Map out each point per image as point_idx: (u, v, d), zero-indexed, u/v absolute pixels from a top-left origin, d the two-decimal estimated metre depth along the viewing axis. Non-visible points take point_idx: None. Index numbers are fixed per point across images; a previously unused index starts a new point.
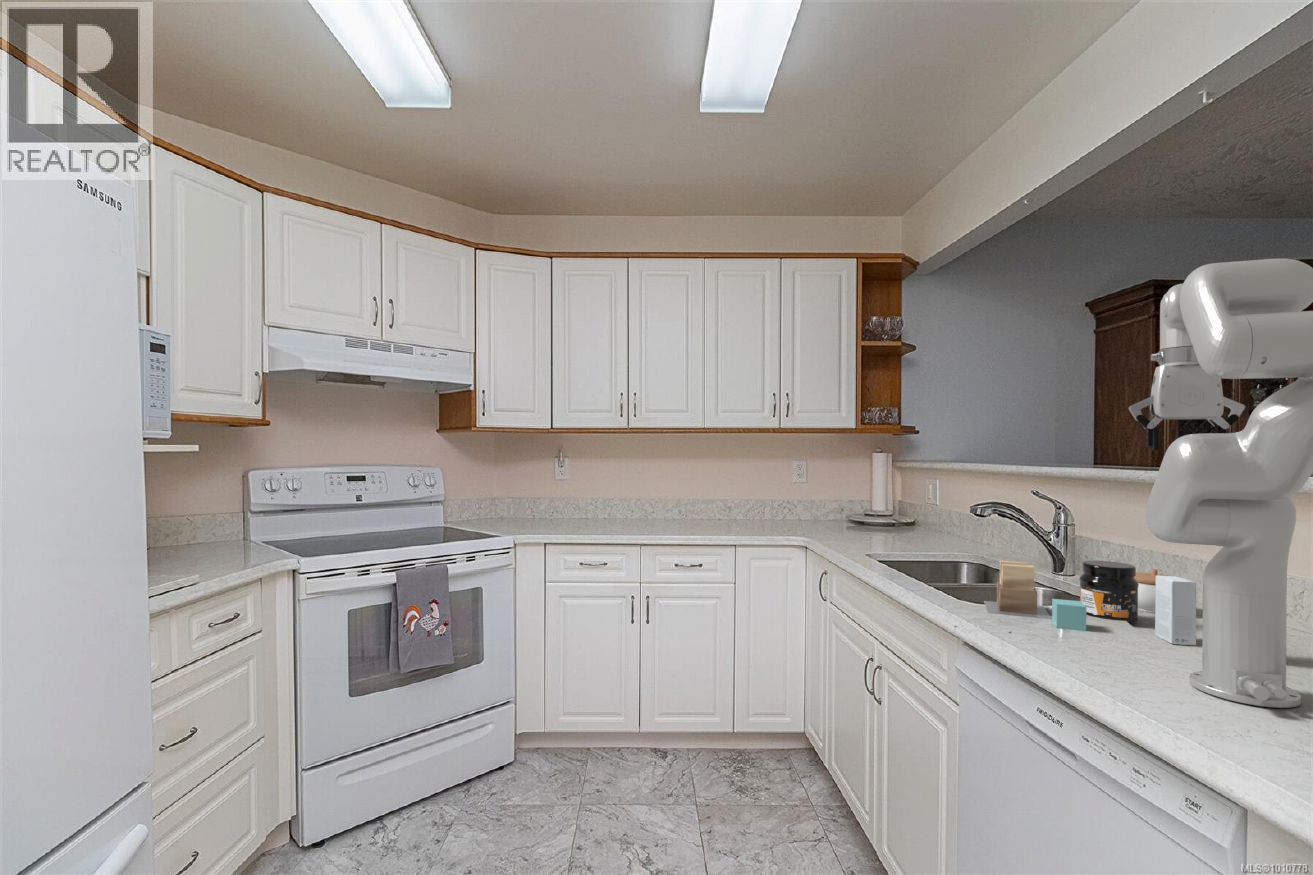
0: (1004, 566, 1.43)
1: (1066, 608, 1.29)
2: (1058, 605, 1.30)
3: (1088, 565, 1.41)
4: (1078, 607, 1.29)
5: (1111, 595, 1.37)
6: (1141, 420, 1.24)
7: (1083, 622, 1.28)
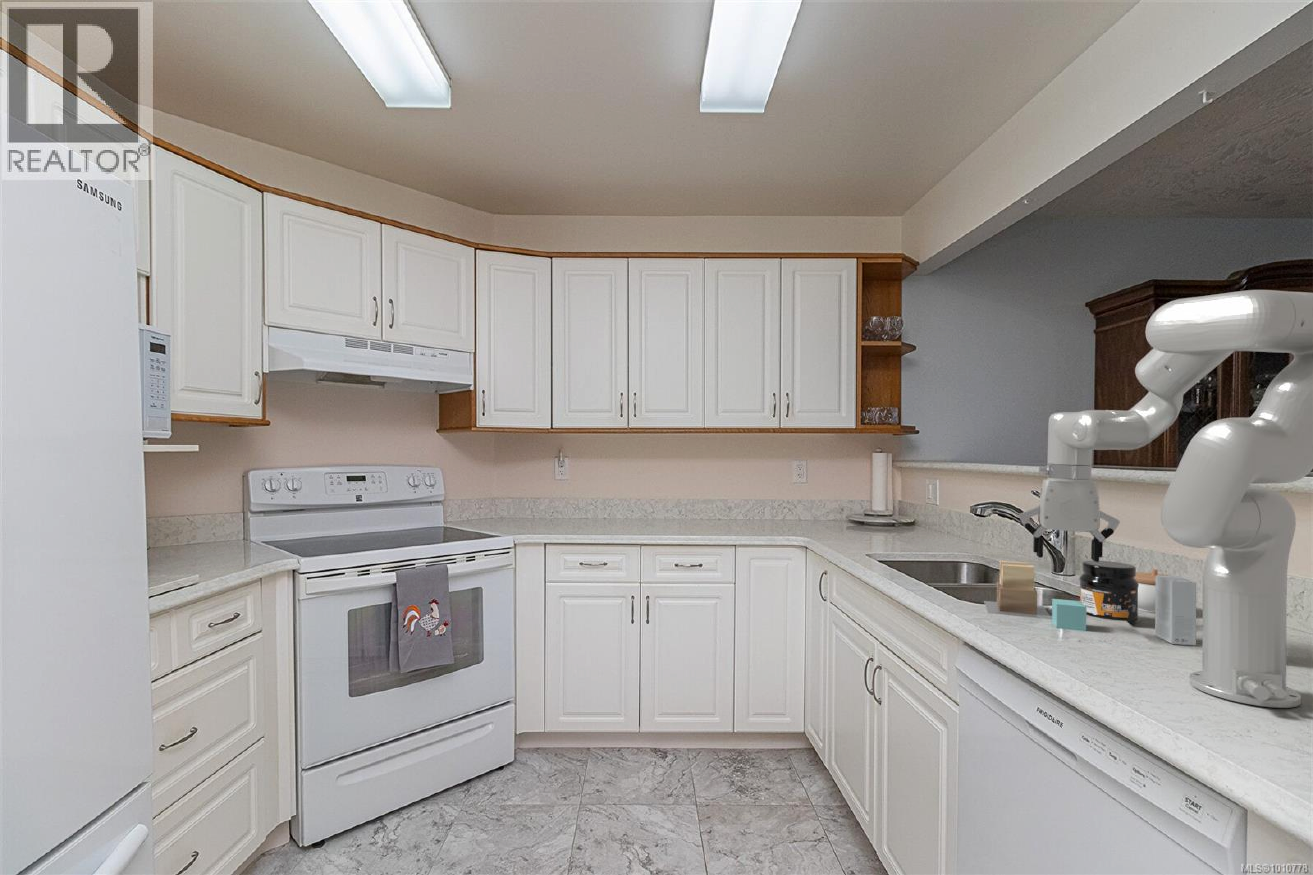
0: (1004, 566, 1.43)
1: (1066, 608, 1.29)
2: (1058, 605, 1.30)
3: (1088, 565, 1.41)
4: (1078, 607, 1.29)
5: (1111, 595, 1.37)
6: (1028, 528, 1.34)
7: (1083, 622, 1.28)
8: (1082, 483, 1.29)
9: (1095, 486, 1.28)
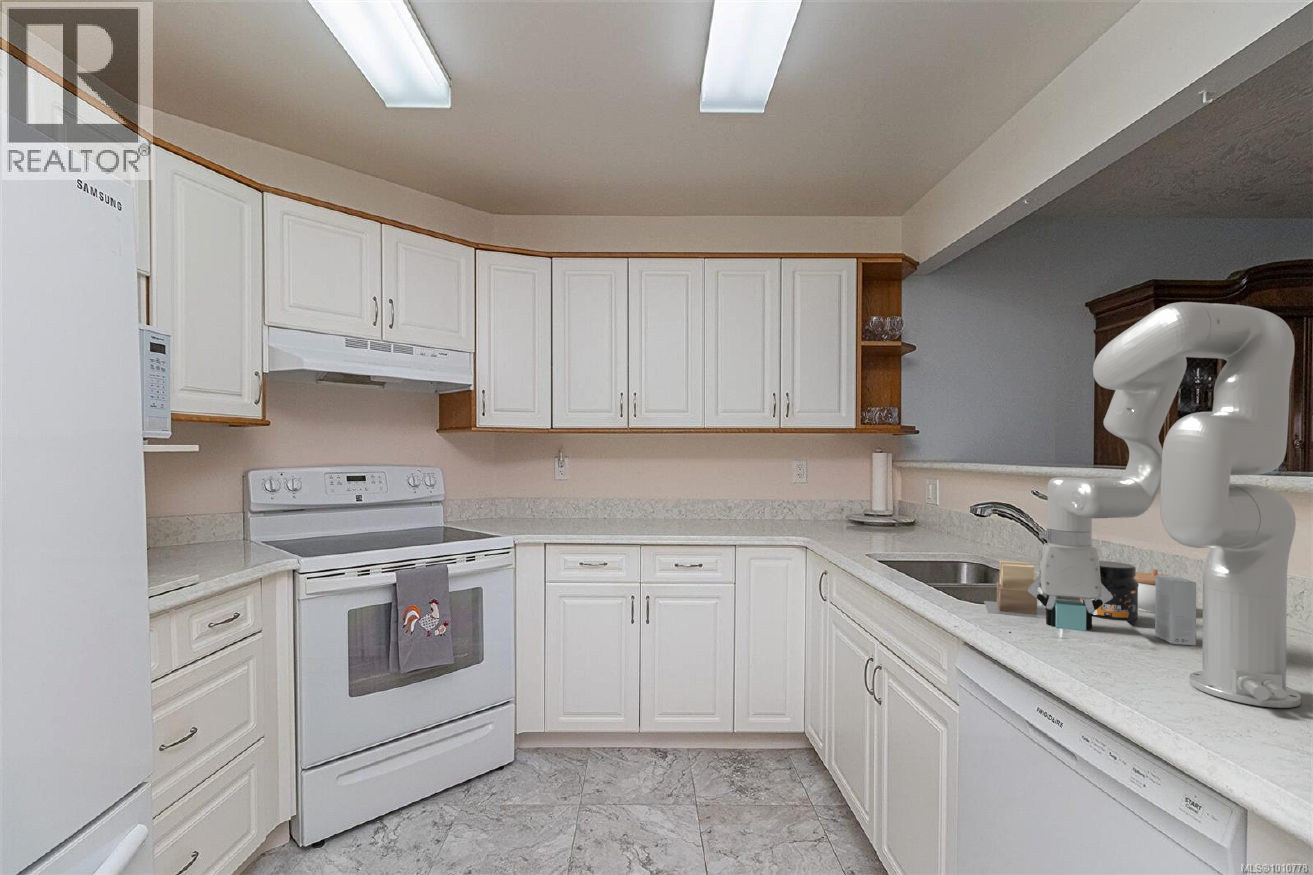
0: (1004, 566, 1.43)
1: (1066, 608, 1.29)
2: (1058, 605, 1.30)
3: None
4: (1078, 607, 1.29)
5: None
6: (1041, 600, 1.33)
7: (1083, 622, 1.28)
8: (1082, 550, 1.28)
9: (1095, 553, 1.28)
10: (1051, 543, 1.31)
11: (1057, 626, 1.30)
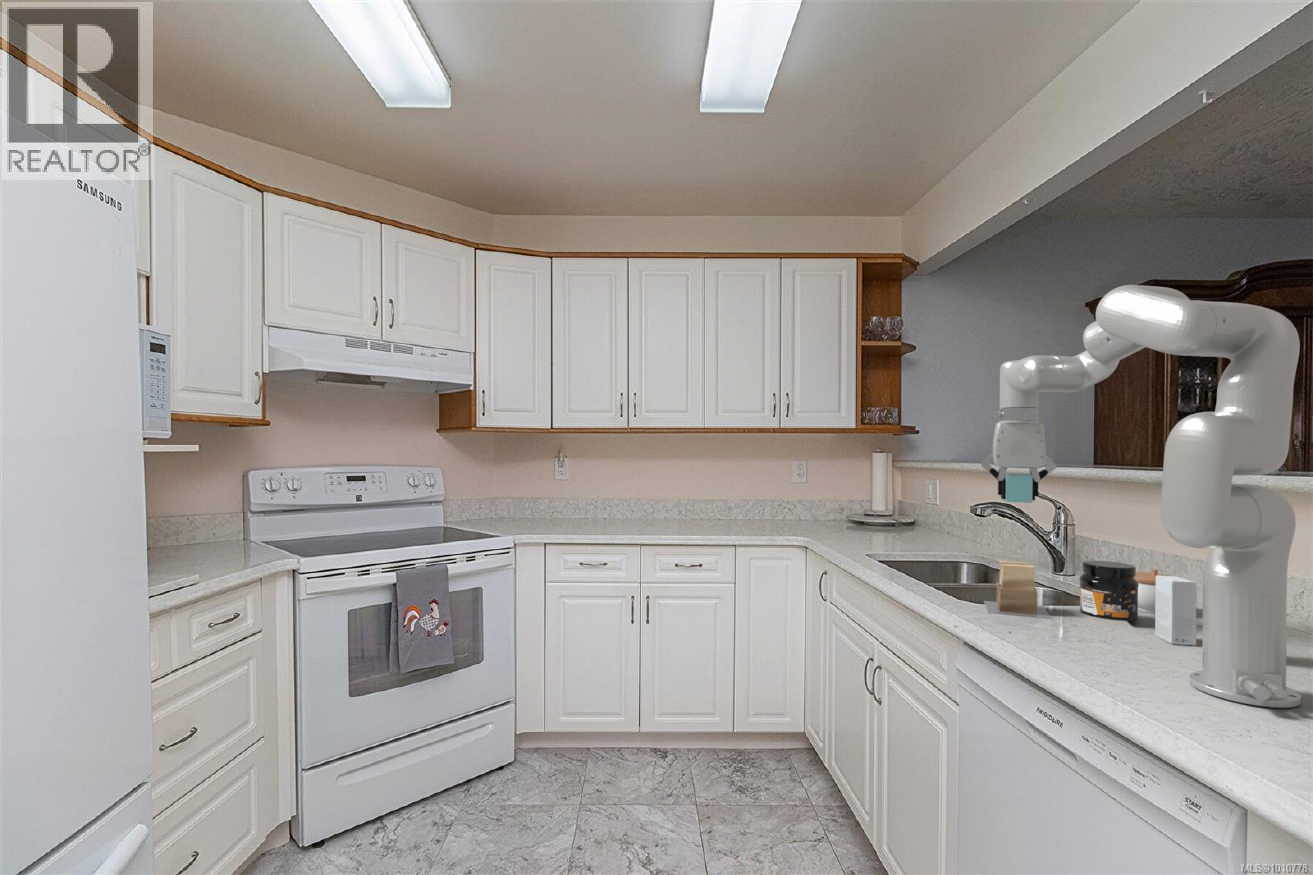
0: (1004, 566, 1.43)
1: (1015, 478, 1.43)
2: (1008, 475, 1.43)
3: (1088, 565, 1.41)
4: (1025, 476, 1.42)
5: (1111, 595, 1.37)
6: (993, 473, 1.46)
7: (1030, 489, 1.42)
8: (1029, 424, 1.42)
9: (1041, 426, 1.41)
10: (1002, 420, 1.44)
11: (1007, 494, 1.43)
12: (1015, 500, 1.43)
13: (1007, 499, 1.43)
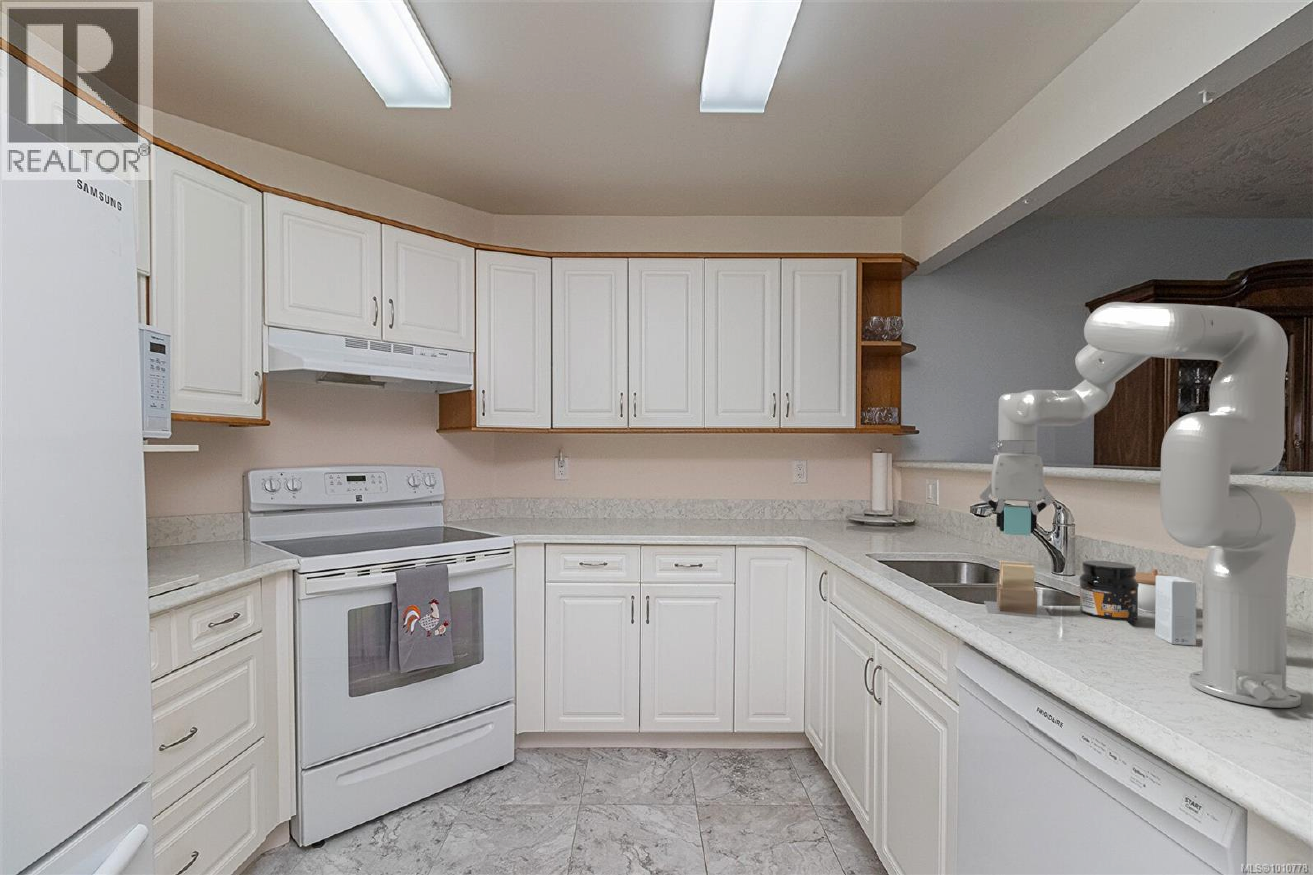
0: (1004, 566, 1.43)
1: (1013, 510, 1.43)
2: (1006, 507, 1.44)
3: (1088, 565, 1.41)
4: (1024, 508, 1.42)
5: (1111, 595, 1.37)
6: (991, 505, 1.46)
7: (1028, 522, 1.42)
8: (1028, 457, 1.42)
9: (1040, 459, 1.41)
10: (1000, 453, 1.45)
11: (1005, 527, 1.44)
12: (1013, 533, 1.43)
13: (1005, 531, 1.44)
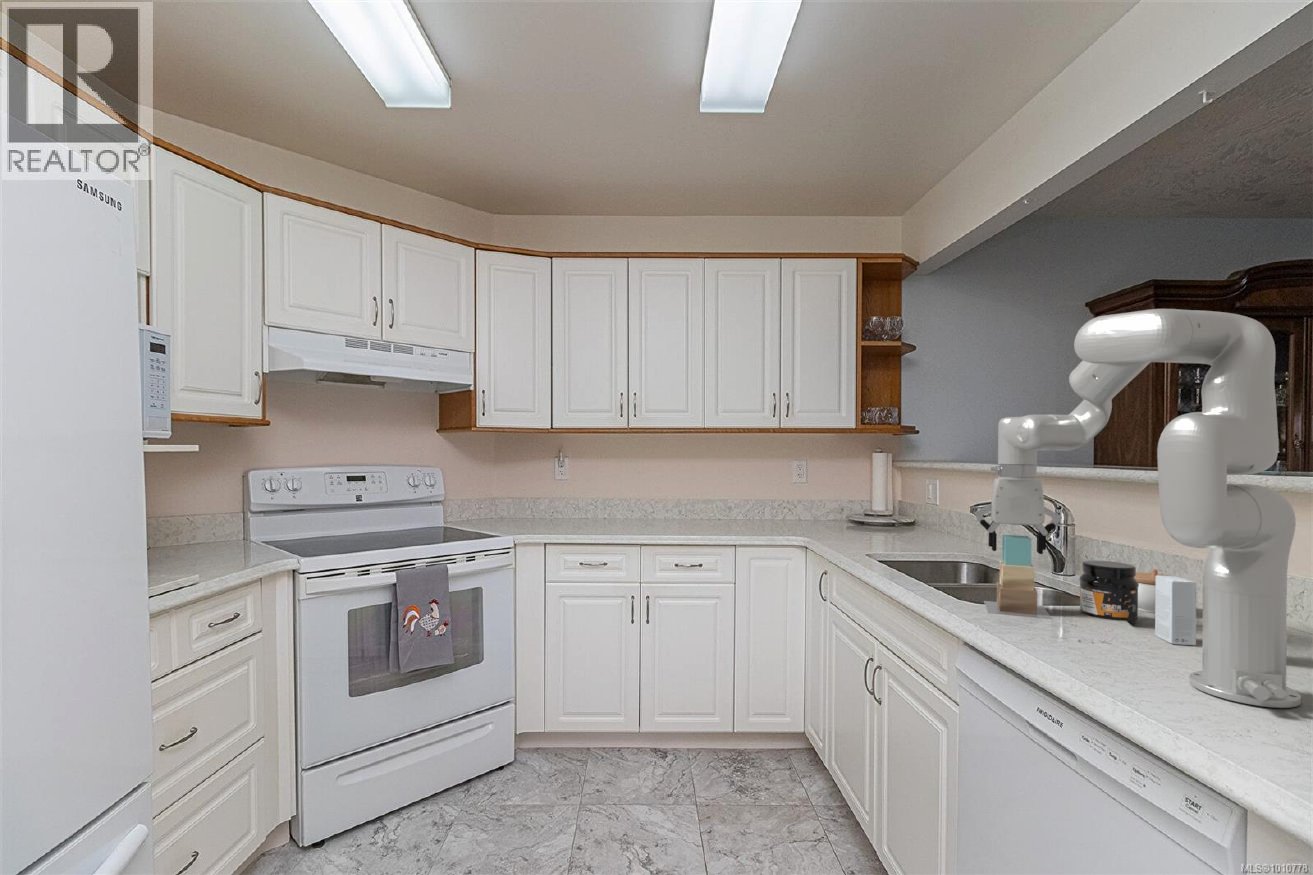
0: (1004, 566, 1.43)
1: (1013, 541, 1.43)
2: (1006, 538, 1.43)
3: (1088, 565, 1.41)
4: (1024, 539, 1.42)
5: (1111, 595, 1.37)
6: (983, 524, 1.47)
7: (1028, 553, 1.42)
8: (1028, 481, 1.42)
9: (1040, 484, 1.41)
10: (1000, 476, 1.45)
11: (1006, 558, 1.43)
12: (1014, 563, 1.43)
13: (1006, 562, 1.43)
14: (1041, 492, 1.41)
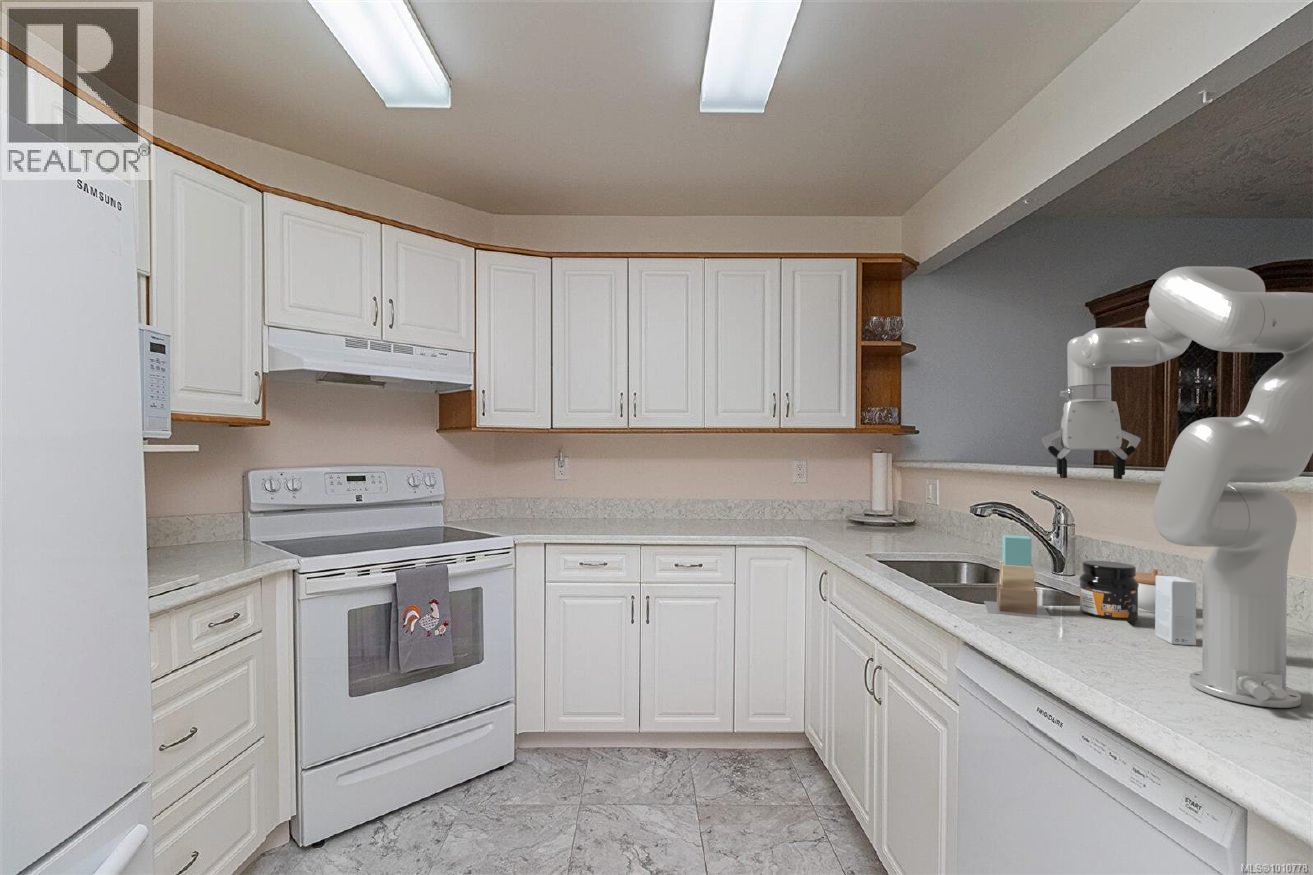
0: (1004, 566, 1.43)
1: (1013, 541, 1.43)
2: (1006, 538, 1.43)
3: (1088, 565, 1.41)
4: (1024, 539, 1.42)
5: (1111, 595, 1.37)
6: (1052, 451, 1.37)
7: (1028, 553, 1.42)
8: (1103, 402, 1.33)
9: (1116, 405, 1.33)
10: (1072, 399, 1.36)
11: (1006, 558, 1.43)
12: (1014, 563, 1.43)
13: (1006, 562, 1.43)
14: (1117, 414, 1.32)
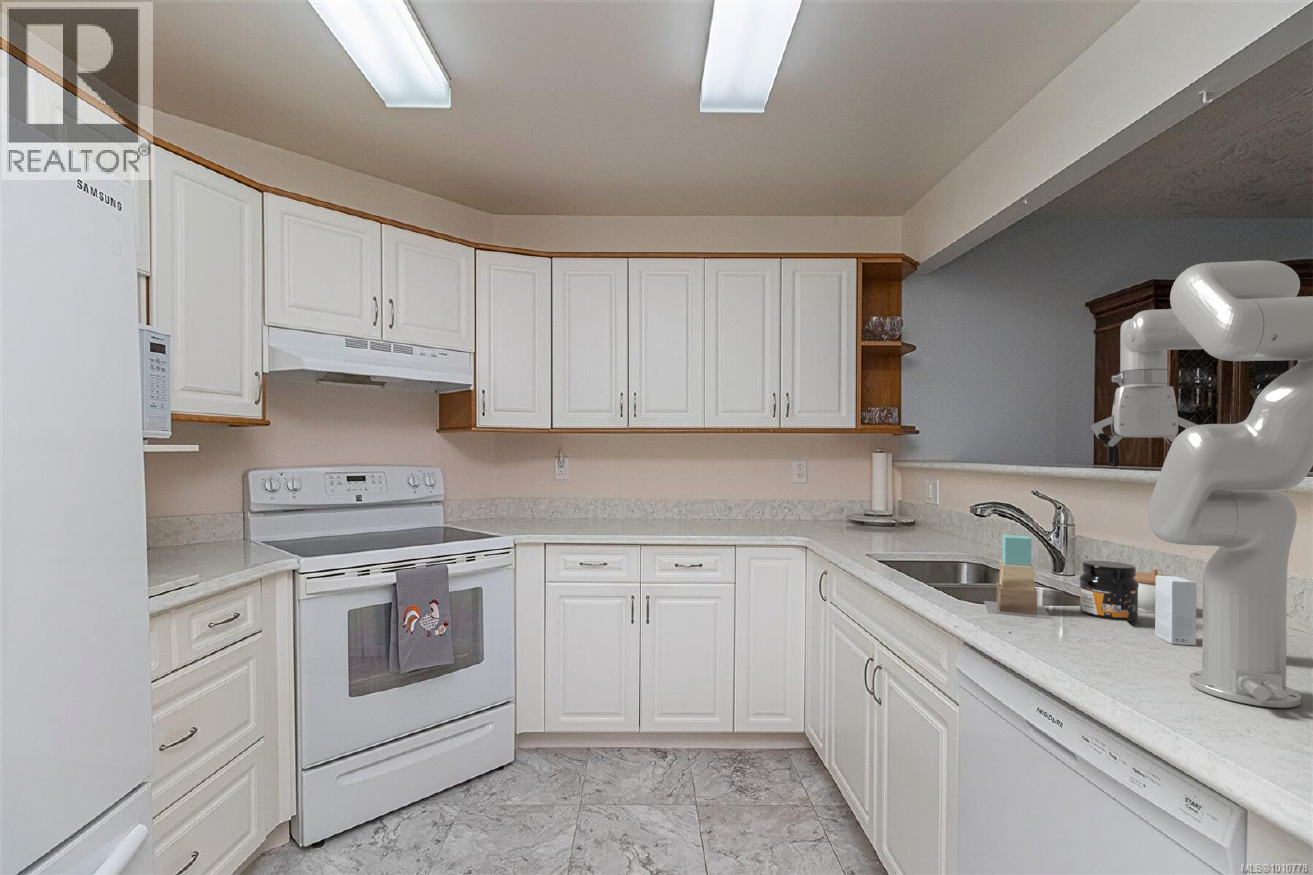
0: (1004, 566, 1.43)
1: (1013, 541, 1.43)
2: (1006, 538, 1.43)
3: (1088, 565, 1.41)
4: (1024, 539, 1.42)
5: (1111, 595, 1.37)
6: (1102, 438, 1.32)
7: (1028, 553, 1.42)
8: (1159, 388, 1.27)
9: (1172, 390, 1.26)
10: (1125, 384, 1.29)
11: (1006, 558, 1.43)
12: (1014, 563, 1.43)
13: (1006, 562, 1.43)
14: (1174, 399, 1.26)
